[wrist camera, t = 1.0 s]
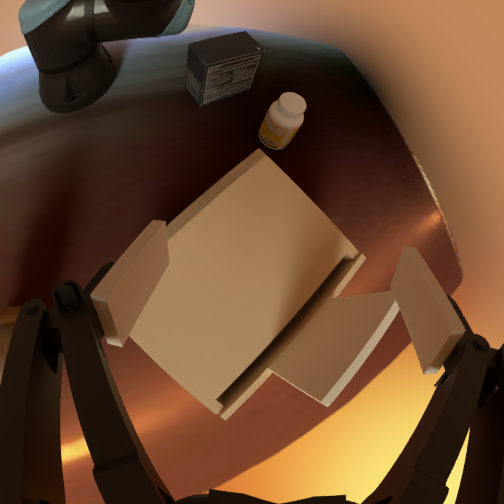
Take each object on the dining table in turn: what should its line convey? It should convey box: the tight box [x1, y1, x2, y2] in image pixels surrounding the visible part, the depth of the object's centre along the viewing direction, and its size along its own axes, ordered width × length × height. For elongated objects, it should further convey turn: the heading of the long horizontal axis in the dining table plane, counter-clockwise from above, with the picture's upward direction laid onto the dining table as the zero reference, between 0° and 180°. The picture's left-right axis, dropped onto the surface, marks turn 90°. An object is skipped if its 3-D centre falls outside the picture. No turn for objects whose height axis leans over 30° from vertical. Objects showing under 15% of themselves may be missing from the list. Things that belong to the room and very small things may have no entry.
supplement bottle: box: [259, 92, 306, 150], centre depth 41 cm, size 5×5×10 cm
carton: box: [129, 149, 359, 414], centre depth 32 cm, size 14×20×16 cm
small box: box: [185, 31, 265, 107], centre depth 41 cm, size 11×6×10 cm, turn 122°
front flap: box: [219, 254, 400, 420], centre depth 27 cm, size 1×20×26 cm, turn 136°
